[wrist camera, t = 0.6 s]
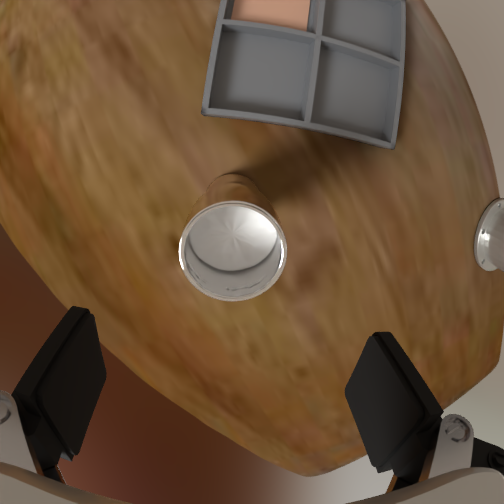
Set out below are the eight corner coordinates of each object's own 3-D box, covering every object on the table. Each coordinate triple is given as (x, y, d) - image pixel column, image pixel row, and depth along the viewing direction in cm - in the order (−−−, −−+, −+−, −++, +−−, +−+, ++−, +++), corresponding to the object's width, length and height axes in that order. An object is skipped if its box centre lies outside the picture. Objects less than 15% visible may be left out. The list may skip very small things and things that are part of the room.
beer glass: (199, 170, 30) (170, 198, 16) (265, 169, 30) (294, 197, 16) (201, 232, 32) (180, 304, 18) (263, 231, 33) (287, 303, 19)
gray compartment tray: (393, 6, 22) (405, -1, 20) (381, 147, 30) (394, 149, 27) (232, -34, 20) (232, -47, 17) (204, 115, 27) (200, 113, 25)
